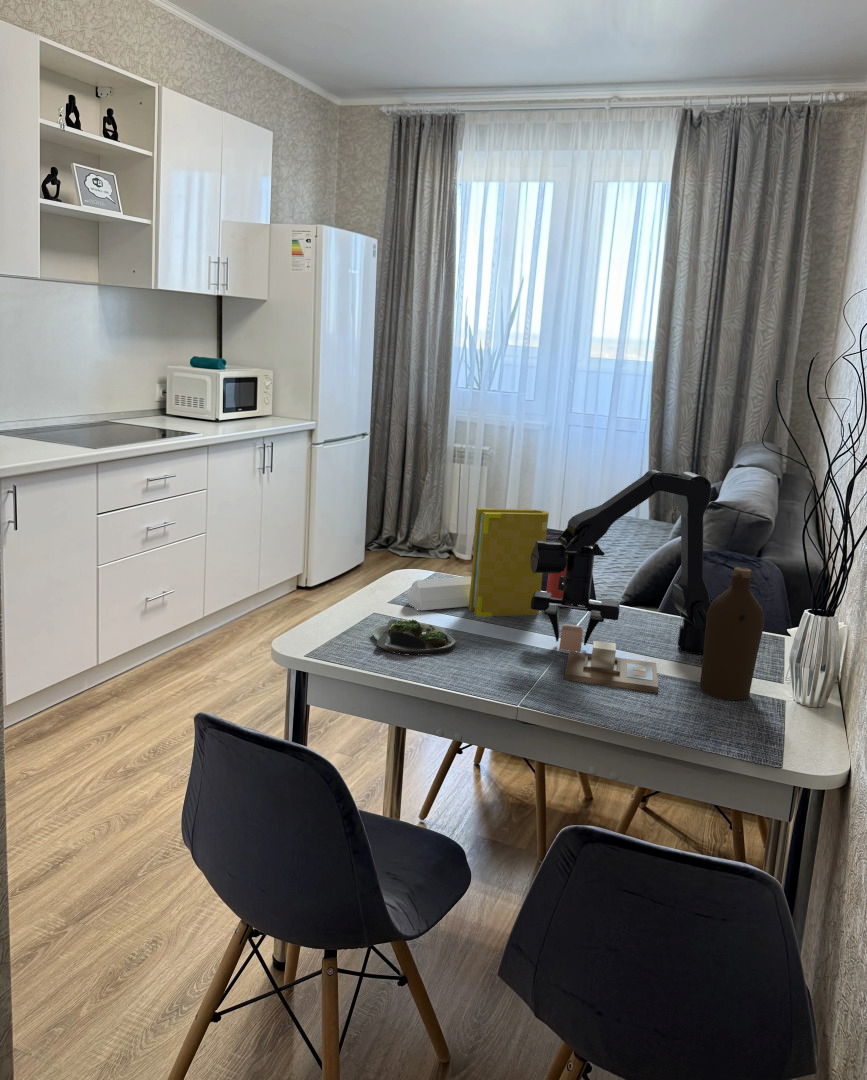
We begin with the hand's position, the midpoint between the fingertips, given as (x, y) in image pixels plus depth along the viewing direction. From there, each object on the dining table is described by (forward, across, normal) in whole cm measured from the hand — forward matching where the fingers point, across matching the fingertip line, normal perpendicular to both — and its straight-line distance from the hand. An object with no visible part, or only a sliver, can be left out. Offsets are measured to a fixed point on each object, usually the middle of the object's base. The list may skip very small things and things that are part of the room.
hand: (571, 642), depth 195 cm
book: (+1, +17, -20) cm, 26 cm away
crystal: (+2, +31, -20) cm, 37 cm away
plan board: (+1, -9, +13) cm, 16 cm away
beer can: (+1, +5, -32) cm, 32 cm away
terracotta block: (+1, 0, 0) cm, 1 cm away
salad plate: (+2, +33, +11) cm, 35 cm away
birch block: (0, -7, +13) cm, 15 cm away
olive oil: (+1, -31, +14) cm, 34 cm away
